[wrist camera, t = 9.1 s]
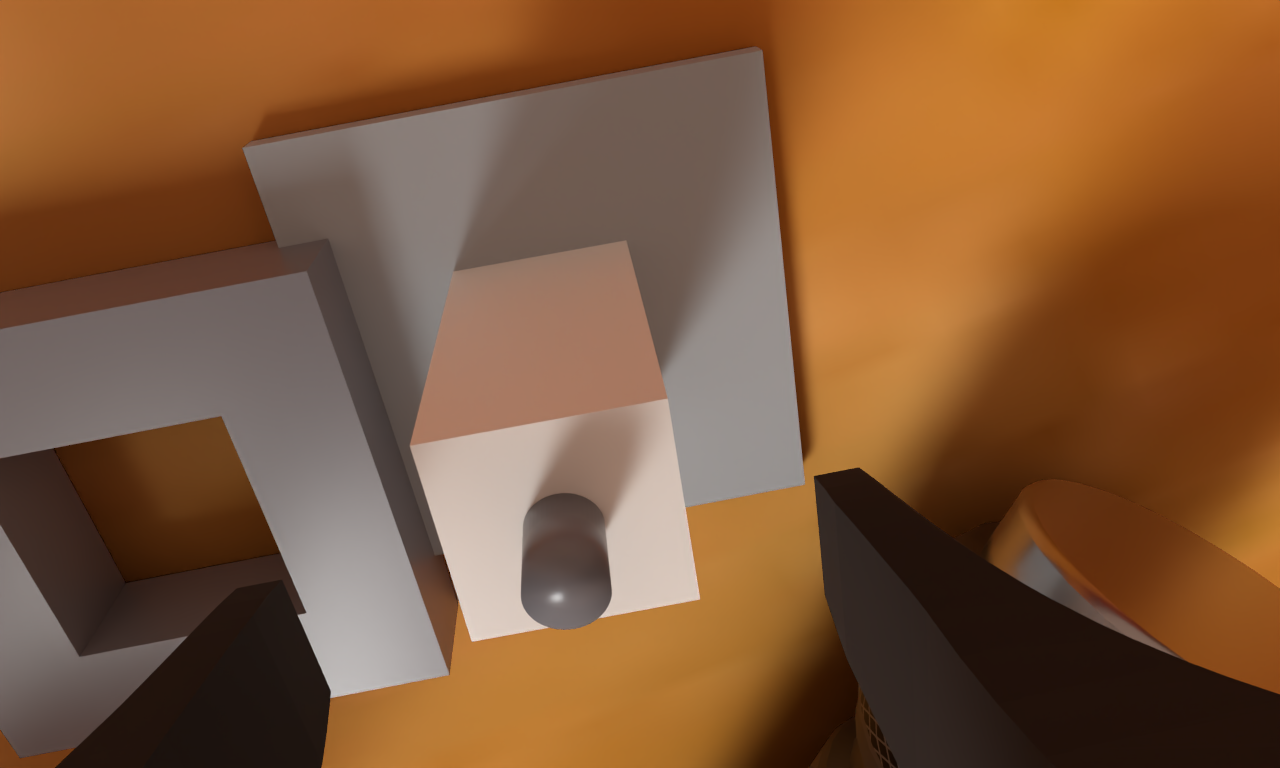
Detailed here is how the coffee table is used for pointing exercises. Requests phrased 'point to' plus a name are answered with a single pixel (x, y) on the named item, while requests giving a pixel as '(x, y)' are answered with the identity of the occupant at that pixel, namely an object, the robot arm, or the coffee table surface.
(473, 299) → the plug
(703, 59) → the rubber pad
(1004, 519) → the muzzle brake
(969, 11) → the coffee table surface
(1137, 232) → the coffee table surface
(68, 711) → the socket block
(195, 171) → the coffee table surface
